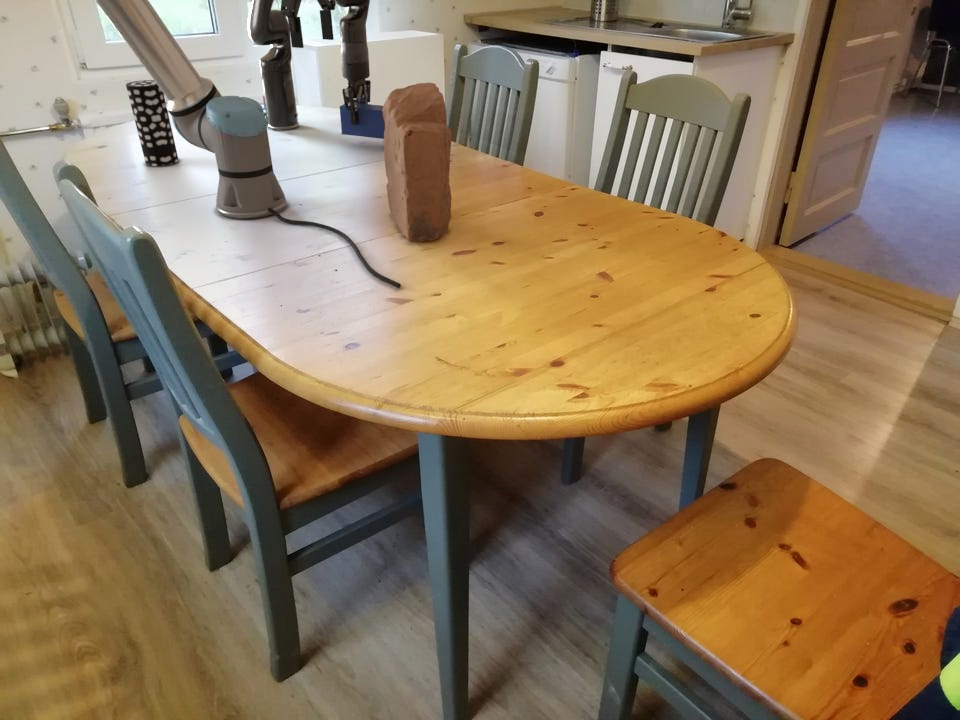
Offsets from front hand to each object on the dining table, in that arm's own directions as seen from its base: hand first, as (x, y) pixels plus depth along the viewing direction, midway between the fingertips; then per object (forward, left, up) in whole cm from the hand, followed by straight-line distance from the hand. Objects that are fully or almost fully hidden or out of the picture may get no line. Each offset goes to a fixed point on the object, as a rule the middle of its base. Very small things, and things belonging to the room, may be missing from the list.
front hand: (313, 43), depth 168 cm
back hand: (+16, -15, -24) cm, 32 cm away
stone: (-48, -5, -31) cm, 57 cm away
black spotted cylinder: (+25, +38, -20) cm, 50 cm away
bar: (+10, -21, -27) cm, 36 cm away
